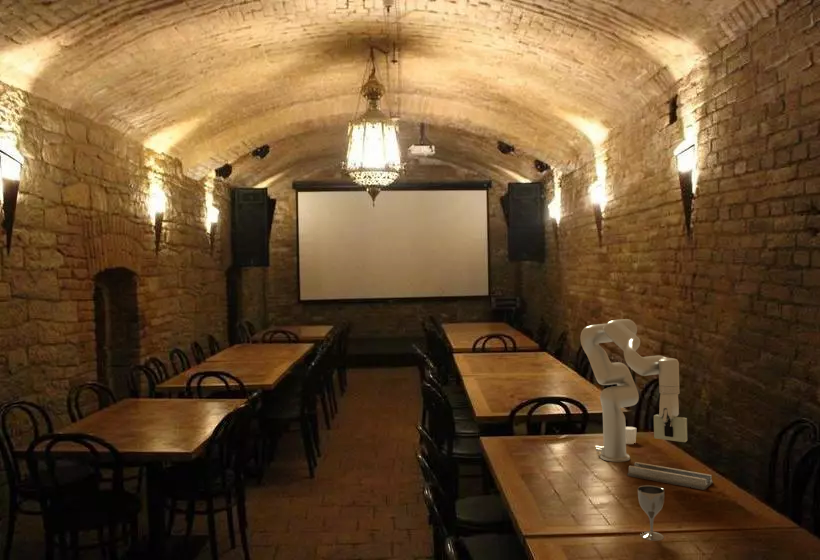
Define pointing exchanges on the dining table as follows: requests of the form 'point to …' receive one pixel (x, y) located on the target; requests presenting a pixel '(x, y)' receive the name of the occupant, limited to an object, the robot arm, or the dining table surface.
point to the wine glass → (651, 507)
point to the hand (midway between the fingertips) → (670, 435)
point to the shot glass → (630, 435)
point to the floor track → (670, 475)
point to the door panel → (678, 429)
